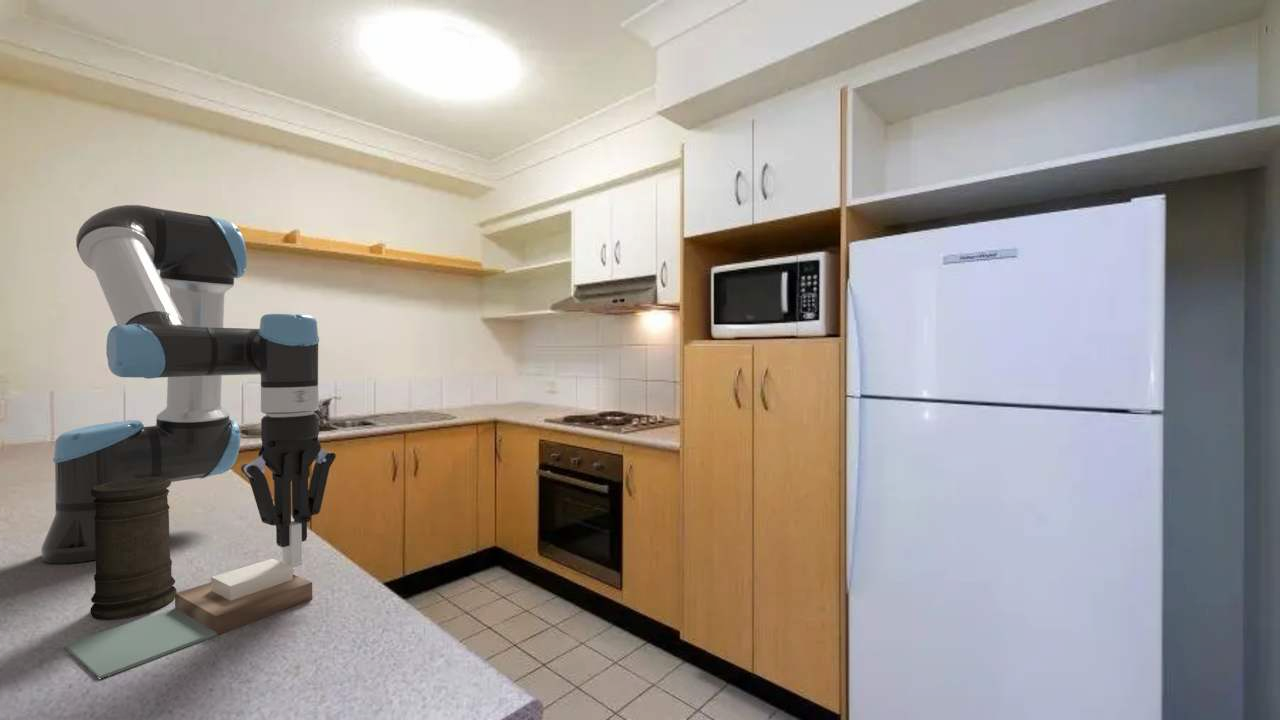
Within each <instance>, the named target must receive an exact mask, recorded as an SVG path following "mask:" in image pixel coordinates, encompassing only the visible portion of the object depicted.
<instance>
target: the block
mask: <svg viewBox="0 0 1280 720" xmlns="http://www.w3.org/2000/svg"><path fill="white" fill-rule="evenodd" d="M293 569H294V568H293V566H290V565H288V564H285V563H283V561H280V560H277V559H275V558H270V559H267V560H263V561H260V562H257V563H254V564H250V565H246V566H244V567H240V568H236V569H233V570H230V571H227V572H223V573H219V574H216V575H213V576H211V577H210V582H211V591H213V592H215V593H217V594H219V595H221V596H222V597H224V598H226V599H228V600H230V601H231V600H234V599H237V598H240V597H243V596H246V595H249V594H252V593H255V592H258V591H261V590H263V589H266V588H269V587H272V586H275V585H278V584H281V583H284V582H287V581H290V580H293V575H294V574H293V573H294V572H293Z"/></svg>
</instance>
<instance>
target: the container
mask: <svg viewBox="0 0 1280 720" xmlns="http://www.w3.org/2000/svg"><path fill="white" fill-rule="evenodd" d="M171 485H172V482H171V481H170V479H169V478H168V477H144V478H133V479H126V480H120V481H114V482H109V483H104V484H101V485H98V486H95V487H93V489H92V491H91V494H92V496H93V497H96V499H95V500H94V503H96V504H95V505H96V515H95V517H94V520H95V545H96V560H95V574H94V576H93V580H94V592H95V593H93V595H92V597H91V599H90V600H91V603H93V604H92V606H91V607H90V610H89V613H90V615H91V617H92V618H93V619H95V620H99V621H112V620H121V619H125V618H132V617H135V616H140V615H143V614H146V613H149V612H152V611H154V610H157V609H160V608H162V607H164V606H166V605H169V603H171V602H173V601H175V593H178V590H177V588H176V586H174V585H175V583H176V580H175V578H174V577H173V576H172V564H173V561H172V559H171V550H170V547H171V546H170V515H169V514H170V510H169V509H170V505H169V504H168V502H169V500H168V496H169V493H170V490H169V489H168V488H169V487H170V486H171Z"/></svg>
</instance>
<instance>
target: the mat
mask: <svg viewBox="0 0 1280 720" xmlns="http://www.w3.org/2000/svg"><path fill="white" fill-rule="evenodd" d="M216 636H217V635H216V632H215V631H213V630H212V629H210V628H208V627H207V626H205V625H203V624H202V623H200V622H198V621H196V620H195V619H193V618H191V617H190V616H188V615H186V614H185V613H183V612H181V611H179V610H178V609H176V608H175V607H174V608H172V609H168V610H164V611H162V612H159V613H156V614H155V613H154V614H152V615H149V616H146V617H144V618H140V619H136V620H134V621H131V622H128V623H125V624H121V625H119V626H116V627H113V628H110V629H106V630H104V631H100V632H97V633H94V634H91V635H88V636H85V637H82V638H79V639H76V640H73V641H70V642H67V643H64V644H63V647H64V648H65V650H67V651H68V652H69V653H70V654H71V655H72V656H73V657H74V658H75V659H77V661H79V662H80V663H81V664H82V665H83V666H84V665H85V666H86V667H87V668H88V671H90V672H91V673H92V672H93V673H94V674H95V675H96V676H97V677H99V678H103V677H106V676H108V675H111V674H113V673H116V674H118V673H117V672H119V671H121V672H123V670H124V671H126V670H125V669H127V670H129V669H132V668H134V666H135V667H137V666H140V665H143V664H144V663H147V662H151V661H153V660H156V659H158V658H161V657H164V656H166V655H168V654H172V653H174V652H176V651H178V650H182V649H185V648H186V647H189V646H192V645H195V644H197V643H198V644H199V643H200V642H202V641H204V640H208V639H210V638H213V637H216ZM85 666H84V667H85ZM86 667H85V668H86ZM131 667H132V668H131ZM87 668H86V669H87ZM128 668H129V669H128ZM93 673H92V674H93ZM119 673H120V672H119ZM94 674H93V675H94ZM95 675H94V676H95ZM96 676H95V677H96ZM111 676H112V675H111ZM97 677H96V678H97ZM108 677H109V676H108ZM106 678H107V677H106ZM103 679H104V678H103Z"/></svg>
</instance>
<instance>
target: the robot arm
mask: <svg viewBox="0 0 1280 720" xmlns="http://www.w3.org/2000/svg"><path fill="white" fill-rule="evenodd" d="M75 243H76V249H77V252H78V255H79V258H80V259H81V261H82V262H83V264H84V265H85V266H86V267H87V268H89V270H92V271H93V272H94V273H95V276H96V278H97V280H98V282H99V284H100V287H101V289H102V293H103V295H104V297H105V299H106V302H107V304H108V306H109V309H110V311H111V313H112V316H113V318H114V322H115V324H116V325H114V326H112V327H111V328H110V329H109V331H108V333H107V337H106V346H105V347H106V350H105V351H106V352H105V353H106V359H107V366H108V369H109V370H110V372H111V373H112V374H113V375H114V376H116V377H119V378H143V379H156V378H157V379H159V378H167V382H166V383H167V389H166V393H167V394H166V407H165V409H163V410H162V411H160V412H159V413H158V414H157V415H156V424H155V425H151V426H144V424H143V422H142V421H141V420H138V419H130V420H121V421H111V422H103V423H98V424H94V425H93V424H92V425H88V426H82V427H78V428H75V429H72V430H69V431H66V432H63V433H62V434H61V435H59V436H58V437H57V438H56V440H55V445H54V456H53V459H52V461H53V463H54V474H55V475H54V477H55V479H54V480H55V482H54V483H55V484H54V487H55V492H54V498H55V501H54V502H55V513H54V518H53V520H52V522H51V525H50V526H49V529H48V531H47V533H46V536H45V539H44V541H43V543H42V546H41V561H42V562H44V563H48V564H71V563H72V564H73V563H83V562H90V561H96V545H95V520H94V517H95V515H96V505H95V504H96V503H94V500H95V499H96V497H93V496H92V494H91V491H92V489H93V487H95V486H98V485H101V484H104V483H109V482H114V481H120V480H126V479H133V478H144V477H168V478H169V479H170V481H171V483H175V482H181V481H187V480H189V481H190V480H193V479H200V480H201V479H205V478H208V477H212V476H217V475H222V474H225V473H227V472H228V471H229V470H230V469H231V468H232V467H233V466H234V464H235V463H236V461H237V458H238V455H239V452H240V446H241V434H240V431H241V430H240V426H239V423H238V422H237V421H236V420H234V419H231V418H230V412H228V411H227V410H226V409H225V408H223V406H222V402H221V401H222V376H244V375H245V376H247V375H250V376H251V375H252V376H253V375H260V412H261V413H262V414H265V415H264V416H263V417H262V418H261V420H260V422H261V423H260V433H261V434H260V435H261V443H262V444H261V448H260V450H259V451H258V457H257V458H256V459H253V461H251V462H249V463H245V464H243V465H241V467H240V470H241V472H242V473H243V474H244V475H245V476H246V478H247V479H248V480H249V484H250V487H251V490H252V494H253V496H254V499H255V503H256V507H257V510H258V513H259V517H260V520H261V522H262V523H263V524H267V525H270V526H275V529H276V532H275V533H276V534H275V535H276V537H275V538H276V539H275V540H276V545H277V546H278V547H280V548H282V549H281V551H282V554H281V555H282V562H283V563H285V564H288V565H290V566H293V569H294V568H297V567H299V566H302V565H303V555H302V553H303V547H302V545H303V544H302V543H303V542H305V541H307V539H308V523H309V522H310V521H312V517H313V516H315V515H318V514H319V513H320V512H321V508H322V503H323V499H324V494H325V491H326V490H325V489H326V486H327V481H328V477H329V473H330V469H331V467H332V464H333V463H334V462H335V460H336V457H337V455H336V453H335V452H330V451H327V450H325V449H322V446H321V445H322V444H321V443H320V441H319V436H320V416H319V415H318V414H317V413H315V411H317V410H319V342H320V337H319V332H318V329H319V328H318V321H317V319H316V318H315V317H314V316H313V315H309V314H308V315H307V314H297V313H296V314H295V313H267V314H264V315H262V316H261V318H260V322H259V323H260V324H259V328H243V327H242V328H240V327H238V328H237V327H224V317H225V315H224V314H225V313H224V312H225V294H226V292H228V291H229V290H230V289H231V288H233V287H234V286H235V279H238V278H241V277H243V276H244V275H245V273H246V267H247V266H248V264H247V263H248V256H247V248H246V242H245V240H244V236H243V234H242V233H241V231H240V229H239V228H238V226H236V224H234V223H233V222H231V221H229V220H226V219H221V218H217V217H212V216H210V215H203V214H202V215H201V214H196V213H194V214H193V213H189V212H184V211H183V212H182V211H175V210H169V209H162V208H156V207H151V206H146V205H140V204H127V205H117V206H114V207H110V208H107V209H106V208H105V209H104V210H100V211H99V212H97V213H95V214H94V215H92V216H91V217H89V218H88V219H87V220H85V221H84V223H83V224H82V225H81V226H80V228H79V230H78V233H77V235H76V241H75ZM168 289H169V290H168ZM314 461H315V462H314ZM313 463H314V466H313V469H312V473H311V471H310V469H311V466H312V464H313ZM265 466H266V467H267V468H268V469H269V470H270V472H272V474H271V475H272V480H273V494H274V495H273V496H274V497H272V494H271V490H270V486H269V483H268V480H267V477H266V475H265V474H264V473H265V472H266V469H265ZM310 473H311V474H310ZM310 475H311V478H310ZM309 478H310V482H309ZM273 498H274V499H273Z"/></svg>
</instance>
